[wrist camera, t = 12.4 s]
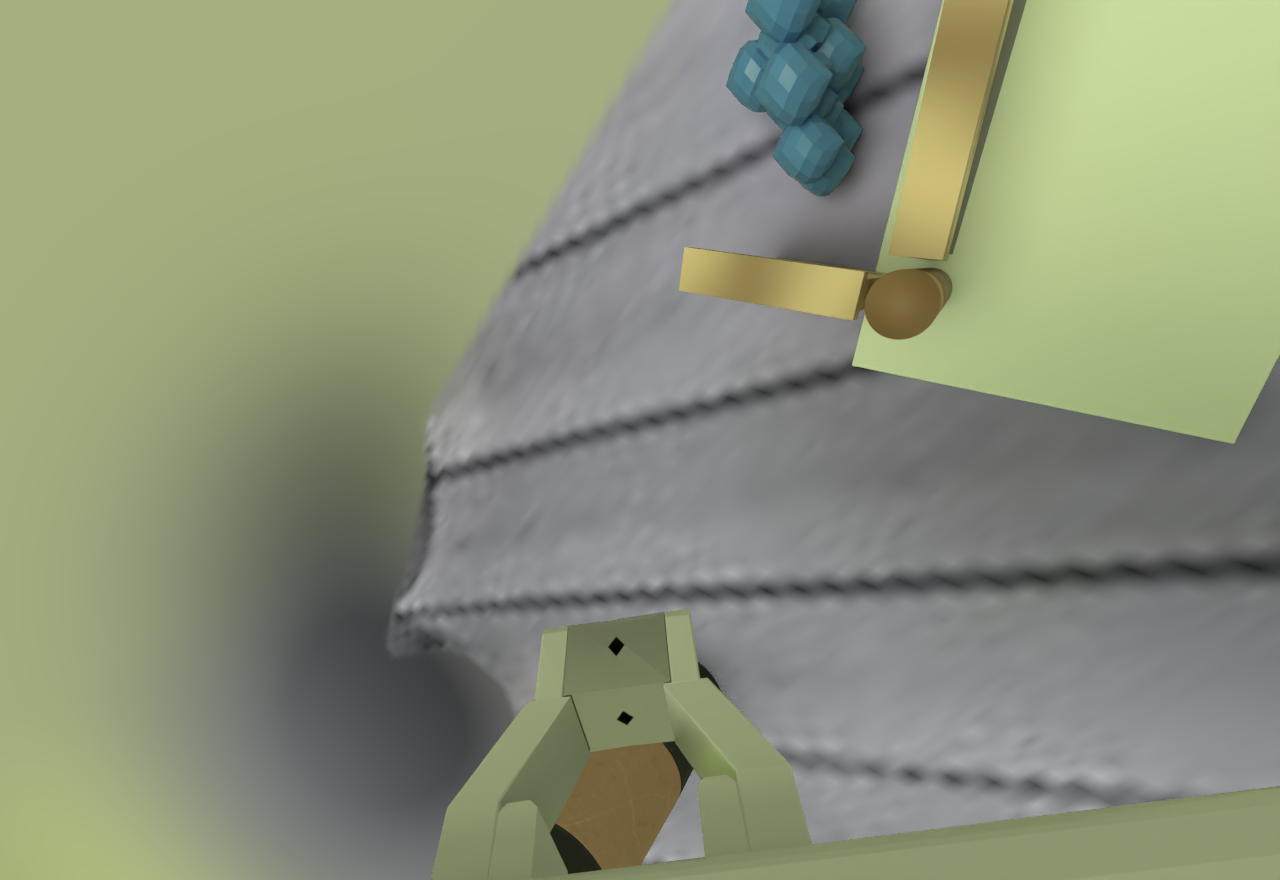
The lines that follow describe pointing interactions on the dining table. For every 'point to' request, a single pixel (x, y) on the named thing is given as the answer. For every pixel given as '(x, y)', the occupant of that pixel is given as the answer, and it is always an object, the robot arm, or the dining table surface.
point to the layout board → (1115, 218)
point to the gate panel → (949, 126)
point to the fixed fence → (822, 289)
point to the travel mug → (620, 804)
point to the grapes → (803, 85)
